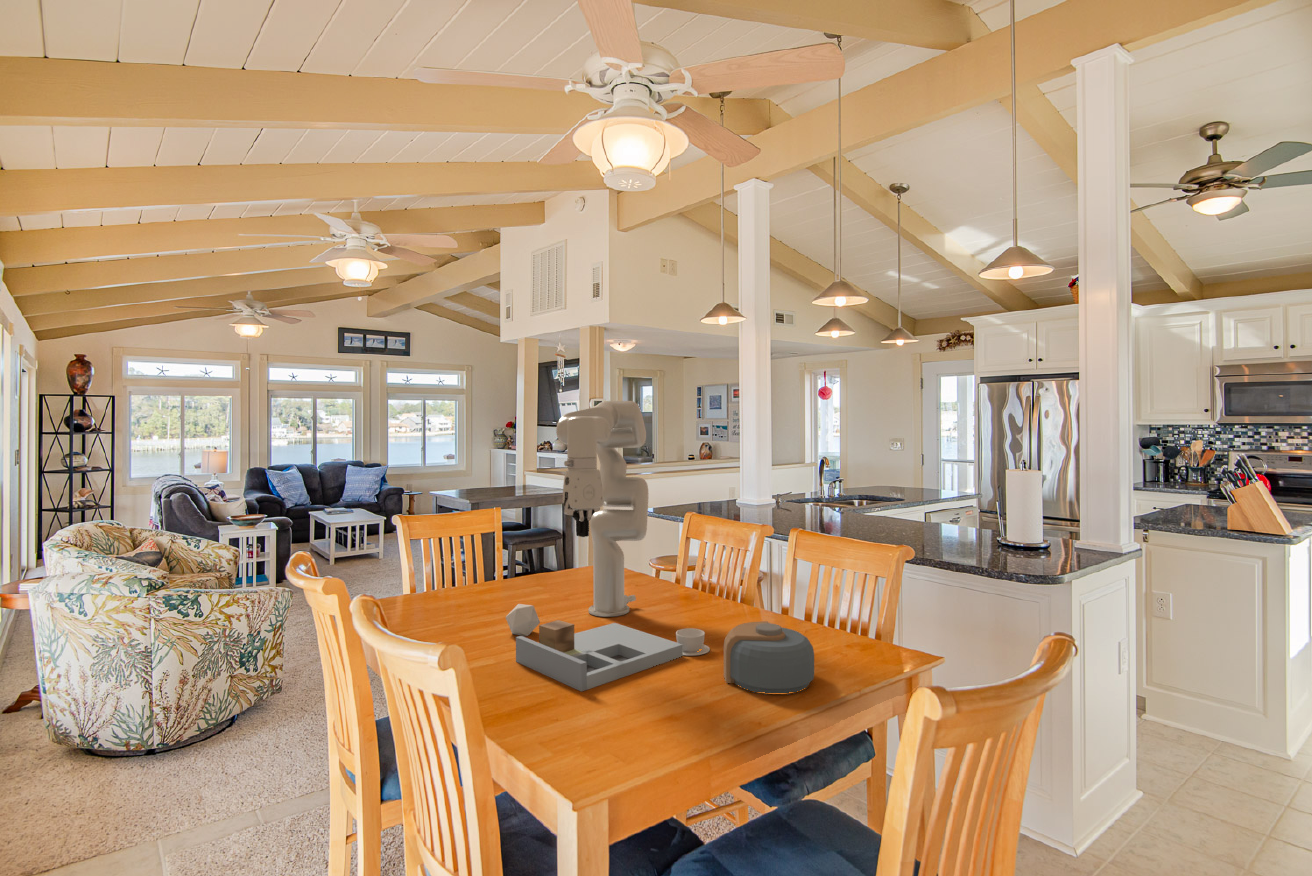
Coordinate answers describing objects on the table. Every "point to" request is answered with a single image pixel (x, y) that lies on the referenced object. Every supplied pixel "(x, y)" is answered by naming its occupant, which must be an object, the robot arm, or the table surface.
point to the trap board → (598, 655)
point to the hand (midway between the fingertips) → (582, 535)
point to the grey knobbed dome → (768, 658)
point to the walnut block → (557, 635)
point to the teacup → (692, 641)
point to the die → (522, 619)
